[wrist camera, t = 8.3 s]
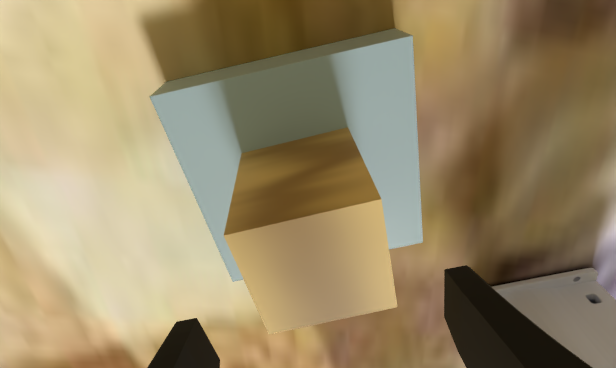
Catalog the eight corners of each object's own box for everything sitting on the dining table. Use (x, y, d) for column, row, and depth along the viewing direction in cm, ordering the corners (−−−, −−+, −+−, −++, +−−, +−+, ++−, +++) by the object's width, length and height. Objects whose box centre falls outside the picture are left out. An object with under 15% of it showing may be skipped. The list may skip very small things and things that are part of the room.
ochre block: (348, 127, 16) (381, 199, 11) (363, 214, 18) (397, 307, 13) (241, 153, 16) (223, 235, 11) (271, 235, 19) (268, 334, 13)
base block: (391, 26, 17) (412, 35, 14) (405, 211, 22) (422, 242, 20) (169, 79, 17) (149, 96, 14) (238, 247, 23) (232, 281, 20)
